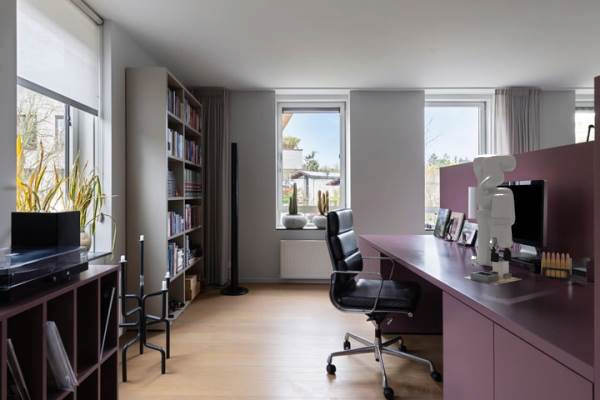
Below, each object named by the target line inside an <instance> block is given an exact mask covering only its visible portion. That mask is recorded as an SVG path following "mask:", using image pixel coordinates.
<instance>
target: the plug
mask: <svg viewBox="0 0 600 400" xmlns="http://www.w3.org/2000/svg"><path fill="white" fill-rule="evenodd" d="M509 263H510V261H505V260H503V257H499V262H493V267H492V271H496V272H498V275H499V278H504V274H506V273H510V272H509V271H510V270H509V268H510V265H509Z"/></svg>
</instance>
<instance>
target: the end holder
mask: <svg viewBox="0 0 600 400" xmlns="http://www.w3.org/2000/svg"><path fill="white" fill-rule="evenodd" d="M469 276H470V279H469V280H473V279H474V280H473V281H477V280H478V282H481V281H482V283H486V282H487V283H486V284H490V282H495V281H499V275H497V274H492V273H490V272H488V271H487V272H486V271H483V270H481V271H473V272H470V275H469Z"/></svg>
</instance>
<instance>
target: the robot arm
mask: <svg viewBox="0 0 600 400" xmlns="http://www.w3.org/2000/svg"><path fill="white" fill-rule="evenodd" d="M516 167H517V160H516V157H515V155H513V154H483V155H482V154H481V155H478V156H475V157H474V158H473V161H472V169H473V173H474V175H475V177H476V179H477V188H476V191H475V192H476V193H475V197H476V198H475V199H476V205H477V208H478V209H477V210H476V211H475V213H476V214H475V217H476V221H477V222H476V223H477V256H471V258H470V259H471V261H473V262H474V263H473V266H474V267H476V266H477V267H478V266H487V267H488V266H489V267H492V268H493V262H499V258H500V253H499V251H500V250H501V249H503V253H502V255H503V257H502V259H503V261H509V262H512V252H513V248H514V246H513V245H514V241H513V234H512V225H514V224H515V220H516V214H515V213H516V212H515V200H514V199H515V198H514V193H513V190H512V189H510V188H508V187H498V186H500V185H502V184H503V183H504V182H505V173H504V172H512V171H515V169H516Z"/></svg>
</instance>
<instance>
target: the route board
mask: <svg viewBox="0 0 600 400" xmlns="http://www.w3.org/2000/svg"><path fill="white" fill-rule="evenodd" d="M489 273H492V274H497V275H498V272H496V271H493V270H489ZM470 276H471V275H469V276H463V278H465V279H469V280H471V279H470ZM472 280H473V281H475V280H474V279H472ZM522 280H523V279H522V278H520V277H519V278H518V277H514V276H512V273H511V272H509V273H506V274H504V278H499V281H495V282H490V283H489V284H491V285H495V286H497V285H501V284H505V283H511V282H516V281H522ZM476 281H478V280H476ZM478 282H479V281H478ZM480 282H482V281H480ZM482 283H483V282H482ZM485 284H488V283H487V282H485Z"/></svg>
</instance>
